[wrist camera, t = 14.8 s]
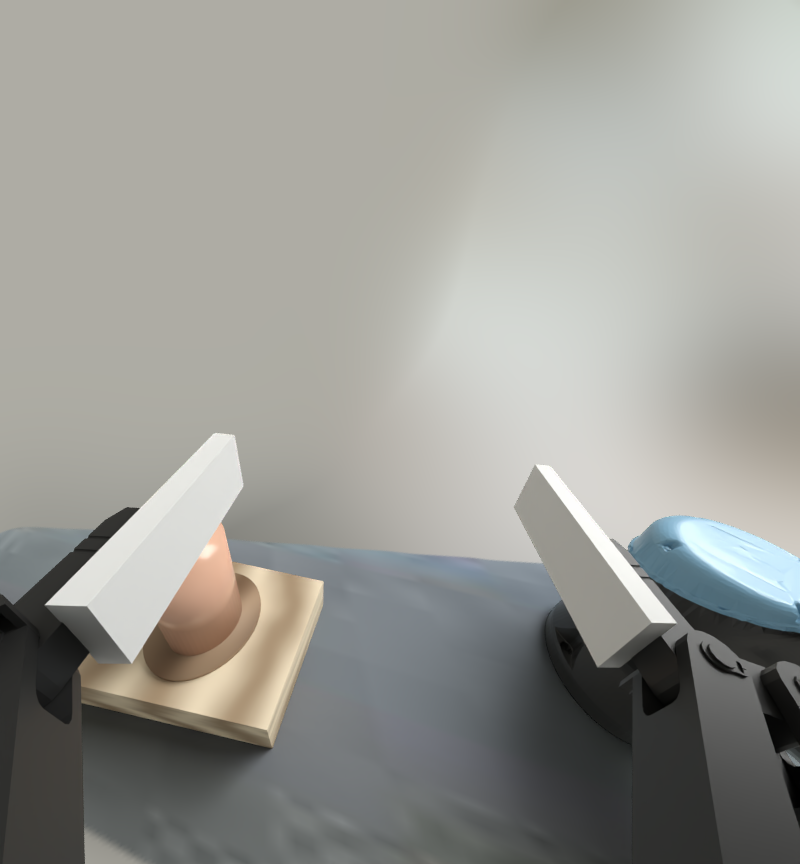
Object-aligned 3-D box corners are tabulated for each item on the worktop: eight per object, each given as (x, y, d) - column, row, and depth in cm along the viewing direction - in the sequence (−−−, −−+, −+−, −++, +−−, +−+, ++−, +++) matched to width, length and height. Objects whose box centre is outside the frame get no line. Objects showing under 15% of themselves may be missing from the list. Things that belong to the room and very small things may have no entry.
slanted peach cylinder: (251, 623, 29) (235, 551, 23) (175, 673, 25) (130, 601, 19) (230, 576, 33) (212, 503, 27) (161, 613, 29) (120, 536, 23)
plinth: (322, 605, 37) (323, 579, 34) (272, 748, 26) (266, 728, 23) (179, 573, 38) (167, 545, 35) (69, 700, 27) (38, 674, 24)
